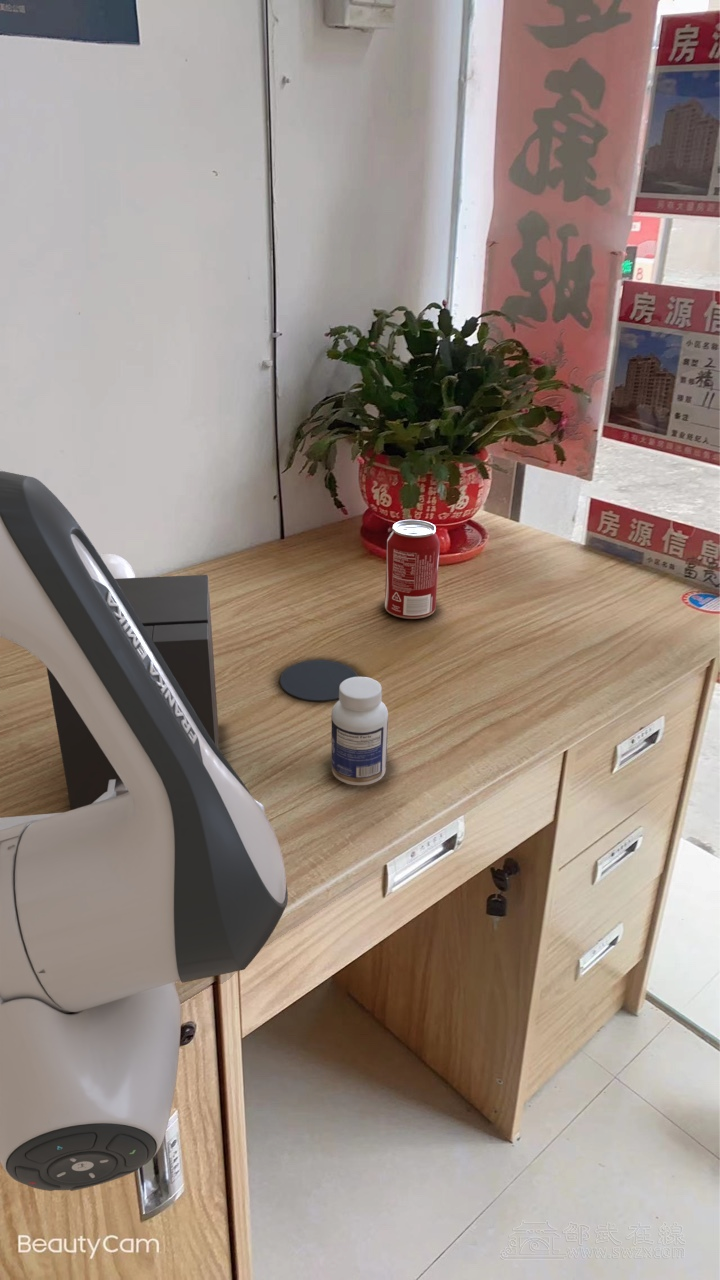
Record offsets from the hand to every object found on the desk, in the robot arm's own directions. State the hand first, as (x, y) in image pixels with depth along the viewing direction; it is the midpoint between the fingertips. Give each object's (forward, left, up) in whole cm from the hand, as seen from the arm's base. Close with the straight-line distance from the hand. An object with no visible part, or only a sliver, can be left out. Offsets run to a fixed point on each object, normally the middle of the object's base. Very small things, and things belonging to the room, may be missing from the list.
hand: (130, 785), depth 68 cm
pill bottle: (+20, +13, -10) cm, 26 cm away
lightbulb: (-6, +44, -10) cm, 45 cm away
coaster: (+18, +30, -10) cm, 36 cm away
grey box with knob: (0, +15, -10) cm, 18 cm away
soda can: (+32, +47, -10) cm, 58 cm away
